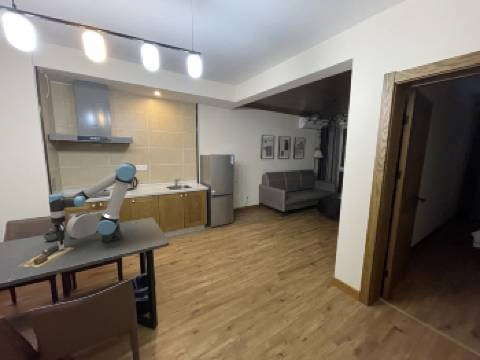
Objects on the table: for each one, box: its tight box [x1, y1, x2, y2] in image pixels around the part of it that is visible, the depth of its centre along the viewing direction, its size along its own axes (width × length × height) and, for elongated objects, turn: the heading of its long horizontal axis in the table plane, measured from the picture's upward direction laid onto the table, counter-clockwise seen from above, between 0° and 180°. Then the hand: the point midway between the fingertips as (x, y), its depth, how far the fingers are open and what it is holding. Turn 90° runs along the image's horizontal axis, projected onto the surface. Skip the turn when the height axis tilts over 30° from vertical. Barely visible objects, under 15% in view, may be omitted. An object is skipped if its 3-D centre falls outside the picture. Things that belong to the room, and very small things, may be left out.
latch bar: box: [41, 243, 59, 256], centre depth 143 cm, size 13×4×4 cm, turn 179°
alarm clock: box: [65, 211, 100, 240], centre depth 173 cm, size 21×8×20 cm, turn 159°
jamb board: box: [18, 247, 76, 268], centre depth 138 cm, size 16×25×5 cm, turn 179°
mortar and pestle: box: [43, 228, 57, 243], centre depth 161 cm, size 11×9×12 cm
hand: (61, 248), depth 146 cm, fingers closed
